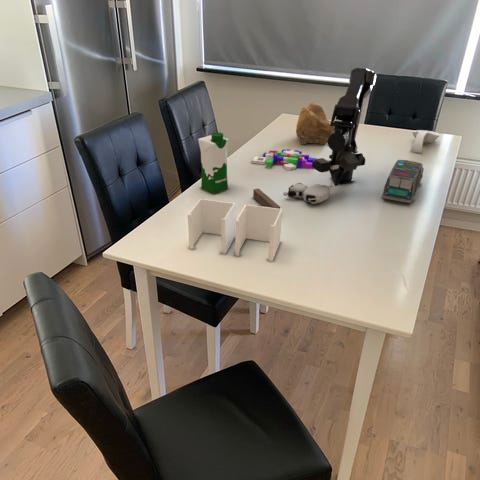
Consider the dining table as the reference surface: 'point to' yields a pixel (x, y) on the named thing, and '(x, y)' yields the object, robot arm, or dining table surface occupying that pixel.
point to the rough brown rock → (313, 125)
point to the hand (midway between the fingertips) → (335, 185)
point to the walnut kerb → (264, 199)
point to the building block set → (285, 159)
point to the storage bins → (223, 223)
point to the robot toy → (309, 192)
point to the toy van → (403, 181)
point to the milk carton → (214, 162)
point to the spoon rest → (422, 139)
